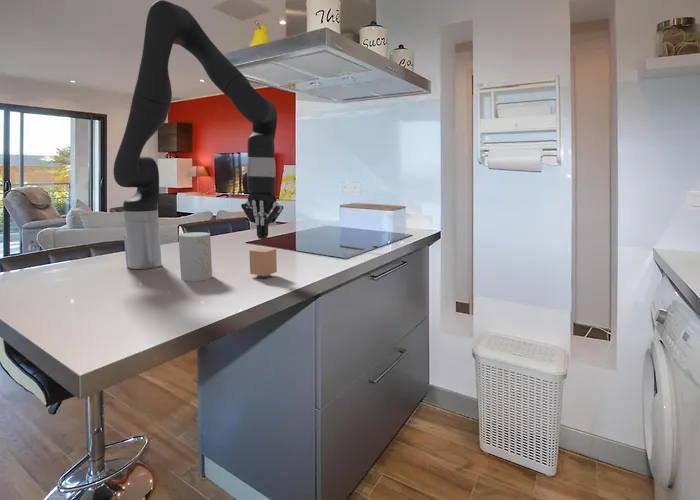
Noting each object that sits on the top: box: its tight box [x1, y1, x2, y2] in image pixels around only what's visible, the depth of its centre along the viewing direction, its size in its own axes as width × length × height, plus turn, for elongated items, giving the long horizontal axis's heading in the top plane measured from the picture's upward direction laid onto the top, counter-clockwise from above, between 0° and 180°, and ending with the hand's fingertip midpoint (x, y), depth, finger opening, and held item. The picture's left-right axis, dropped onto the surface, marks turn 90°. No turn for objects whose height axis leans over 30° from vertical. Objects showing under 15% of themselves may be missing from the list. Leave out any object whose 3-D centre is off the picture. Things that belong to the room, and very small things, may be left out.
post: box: [256, 274, 271, 279], centre depth 118 cm, size 3×3×7 cm
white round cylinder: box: [177, 231, 213, 282], centre depth 116 cm, size 8×8×12 cm
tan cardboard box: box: [249, 247, 278, 276], centre depth 118 cm, size 5×5×7 cm
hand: (262, 238), depth 117 cm, fingers closed
